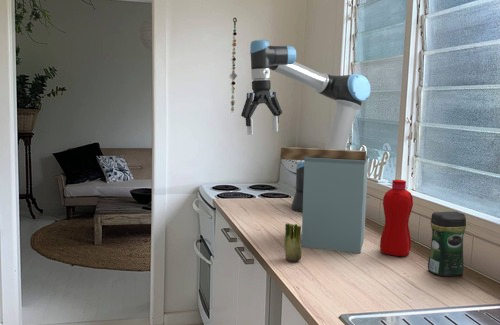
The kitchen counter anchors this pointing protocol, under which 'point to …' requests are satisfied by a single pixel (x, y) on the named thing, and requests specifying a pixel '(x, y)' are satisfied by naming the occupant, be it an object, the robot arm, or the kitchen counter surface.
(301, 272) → the kitchen counter surface
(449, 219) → the coffee jar
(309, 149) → the walnut slat
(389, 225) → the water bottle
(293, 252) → the fennel bulb
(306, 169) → the grey-blue storage bin
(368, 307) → the kitchen counter surface
